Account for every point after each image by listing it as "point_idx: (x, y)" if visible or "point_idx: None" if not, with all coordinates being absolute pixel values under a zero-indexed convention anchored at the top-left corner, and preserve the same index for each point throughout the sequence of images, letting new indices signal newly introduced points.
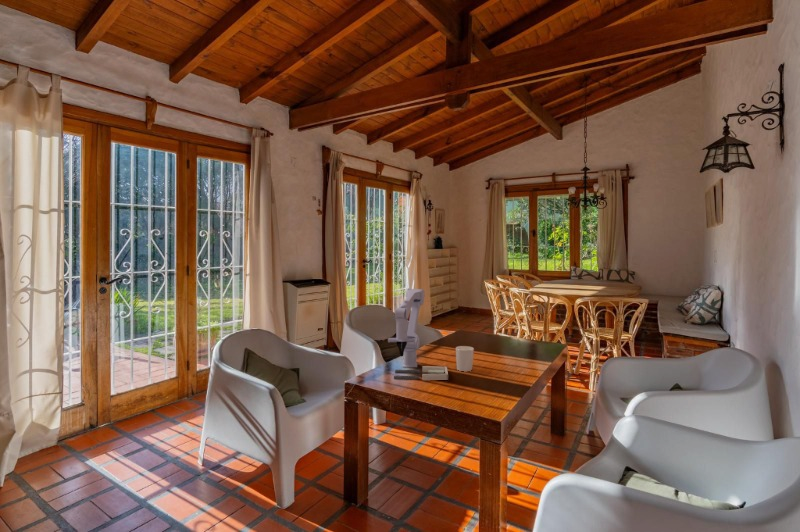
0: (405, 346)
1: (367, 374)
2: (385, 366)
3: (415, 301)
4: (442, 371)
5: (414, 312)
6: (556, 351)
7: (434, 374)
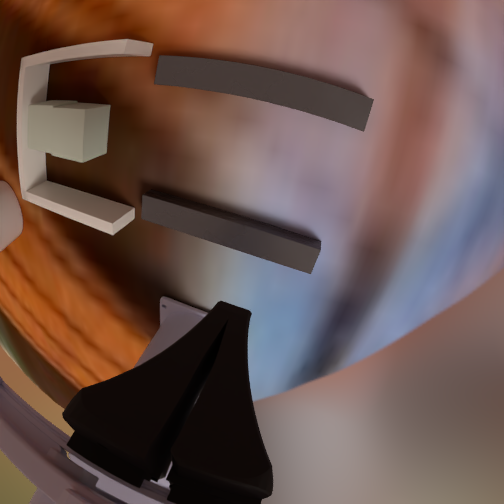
0: (105, 381)
1: (493, 265)
2: (337, 361)
3: None
4: (31, 122)
5: None
6: None
7: (64, 52)
